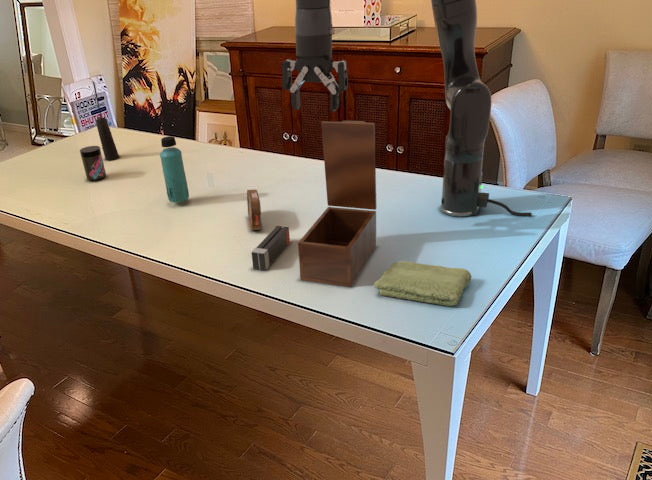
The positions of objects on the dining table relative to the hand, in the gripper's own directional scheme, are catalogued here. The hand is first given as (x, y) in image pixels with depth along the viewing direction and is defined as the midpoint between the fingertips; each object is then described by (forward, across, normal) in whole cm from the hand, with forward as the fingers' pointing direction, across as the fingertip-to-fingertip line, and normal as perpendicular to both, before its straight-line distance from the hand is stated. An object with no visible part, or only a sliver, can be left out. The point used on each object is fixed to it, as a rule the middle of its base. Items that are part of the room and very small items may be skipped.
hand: (315, 110), depth 137 cm
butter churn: (+35, -100, +48) cm, 117 cm away
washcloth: (+33, +29, -14) cm, 46 cm away
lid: (+13, +8, +1) cm, 15 cm away
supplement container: (+35, -91, +28) cm, 102 cm away
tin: (+34, -21, +8) cm, 40 cm away
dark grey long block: (+33, -9, -8) cm, 35 cm away
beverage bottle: (+34, -50, +15) cm, 62 cm away
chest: (+33, +8, -8) cm, 35 cm away
